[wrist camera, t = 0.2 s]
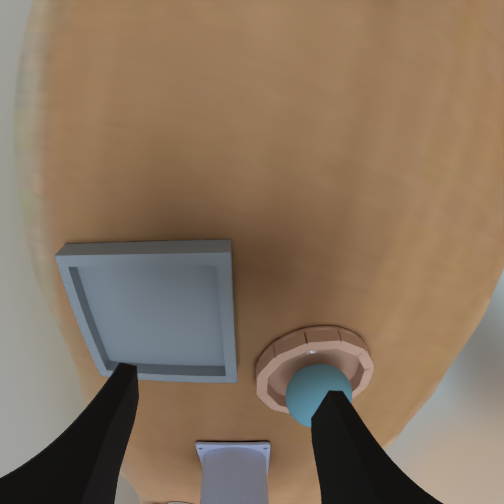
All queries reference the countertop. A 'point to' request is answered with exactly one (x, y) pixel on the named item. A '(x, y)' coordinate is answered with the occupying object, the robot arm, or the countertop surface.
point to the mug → (178, 503)
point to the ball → (313, 390)
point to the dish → (311, 361)
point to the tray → (155, 307)
